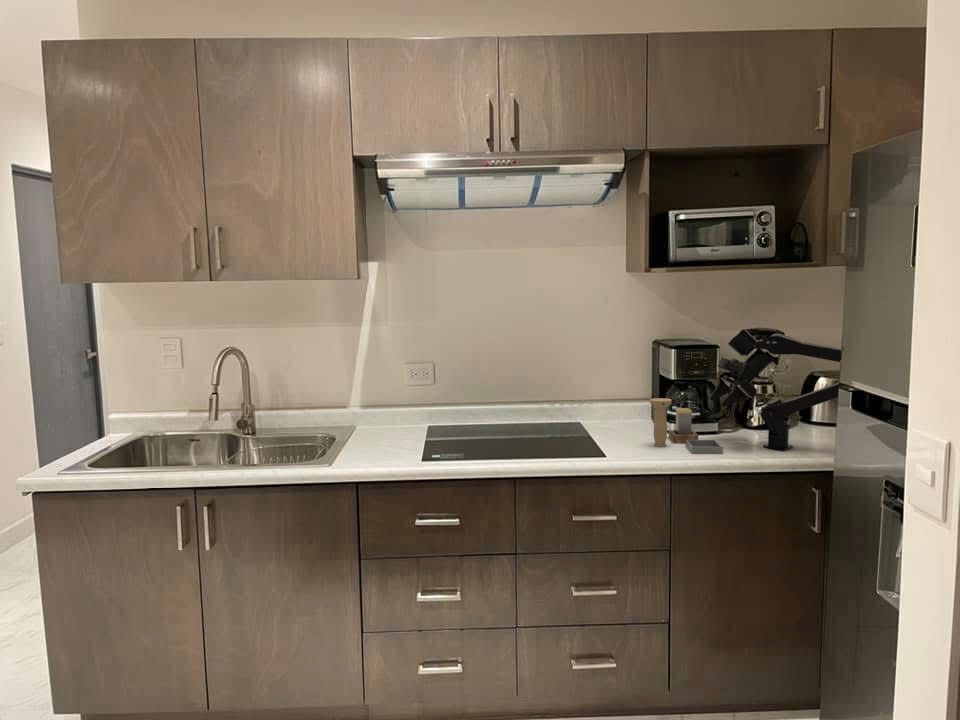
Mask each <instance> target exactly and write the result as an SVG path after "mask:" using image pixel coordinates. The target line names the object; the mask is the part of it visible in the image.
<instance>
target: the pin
mask: <svg viewBox="0 0 960 720" xmlns="http://www.w3.org/2000/svg"><path fill="white" fill-rule="evenodd" d="M692 411H693V410H692V409H690V408H689V407H685V408H684V407H682V408H681V407H676V409H675V430H676V435H691V430H692V419H693V418H692Z"/></svg>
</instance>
